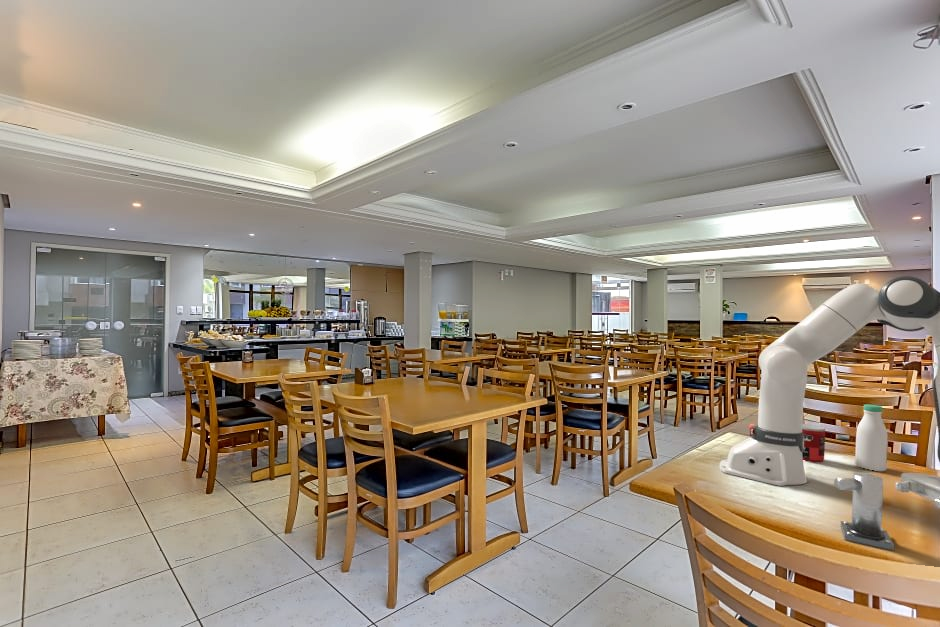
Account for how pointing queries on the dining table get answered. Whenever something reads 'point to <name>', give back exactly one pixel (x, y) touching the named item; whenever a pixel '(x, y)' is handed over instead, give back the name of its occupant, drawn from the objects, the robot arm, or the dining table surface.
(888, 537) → the duct flange
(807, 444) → the canned food
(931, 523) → the dining table surface
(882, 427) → the milk bottle
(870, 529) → the grey pipe with spout
